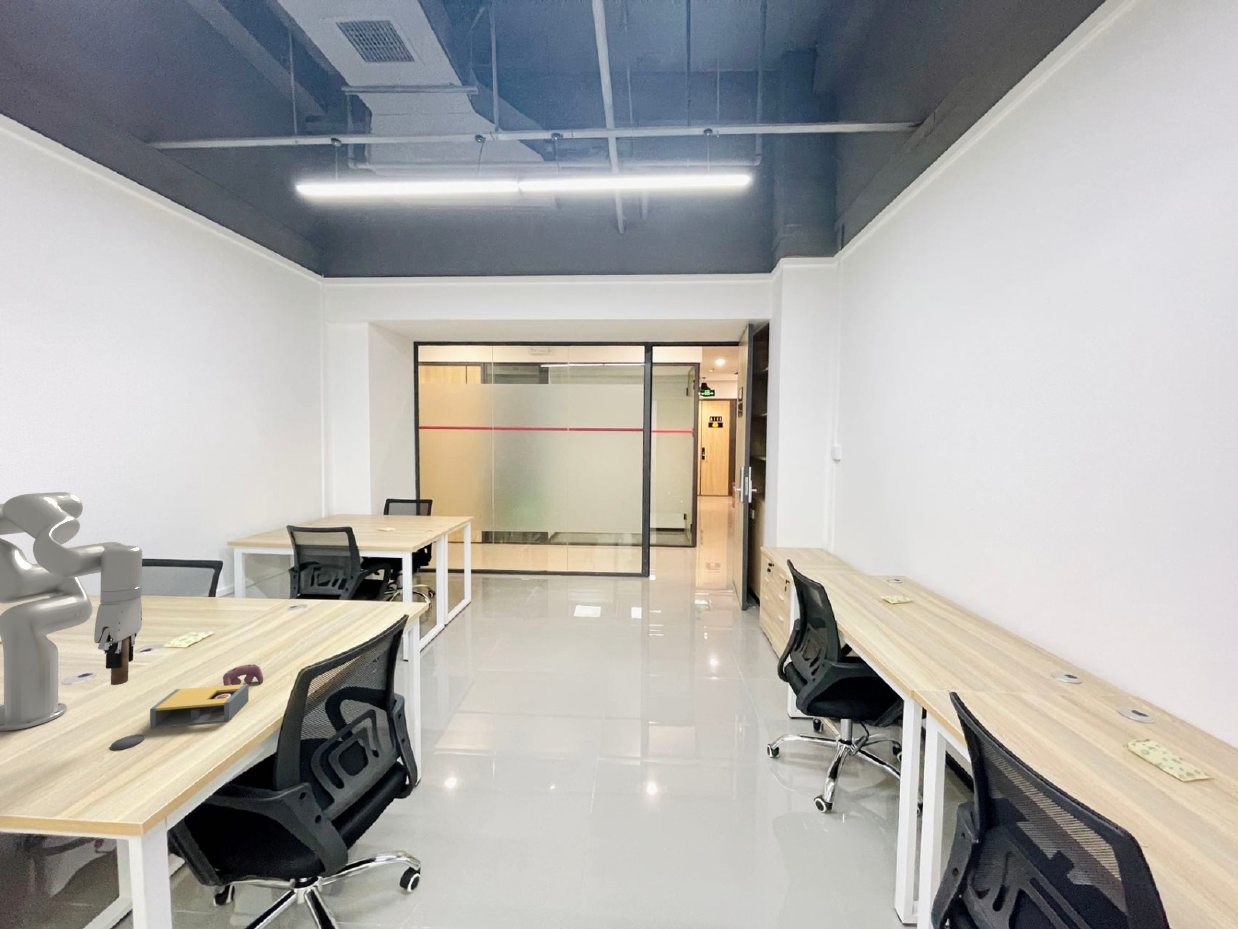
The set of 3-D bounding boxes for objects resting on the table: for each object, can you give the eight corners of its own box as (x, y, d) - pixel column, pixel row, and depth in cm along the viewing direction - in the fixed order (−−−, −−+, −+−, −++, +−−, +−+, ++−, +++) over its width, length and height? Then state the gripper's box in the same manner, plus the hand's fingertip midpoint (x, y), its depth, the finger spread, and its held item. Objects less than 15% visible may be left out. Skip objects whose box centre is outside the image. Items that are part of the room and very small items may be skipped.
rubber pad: (104, 751, 121) (104, 749, 121) (122, 737, 127) (122, 736, 127) (134, 748, 123) (134, 746, 123) (150, 734, 129) (150, 733, 129)
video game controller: (260, 684, 161) (257, 662, 163) (265, 681, 158) (262, 659, 160) (222, 695, 153) (220, 672, 155) (226, 692, 151) (223, 669, 152)
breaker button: (211, 706, 138) (211, 700, 138) (218, 699, 142) (218, 694, 142) (226, 704, 139) (226, 699, 139) (233, 698, 143) (233, 693, 142)
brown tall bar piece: (107, 685, 128) (108, 635, 127) (116, 679, 131) (117, 630, 130) (122, 684, 128) (123, 634, 128) (131, 679, 131) (132, 630, 131)
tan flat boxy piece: (149, 728, 132) (150, 709, 132) (175, 707, 142) (175, 689, 142) (229, 721, 136) (229, 702, 136) (248, 701, 147) (248, 684, 147)
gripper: (126, 586, 136) (124, 652, 136) (77, 604, 120) (76, 680, 120) (159, 585, 138) (157, 651, 138) (115, 604, 122) (113, 678, 122)
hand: (119, 664), depth 129 cm, fingers closed on brown tall bar piece, 3 cm apart
